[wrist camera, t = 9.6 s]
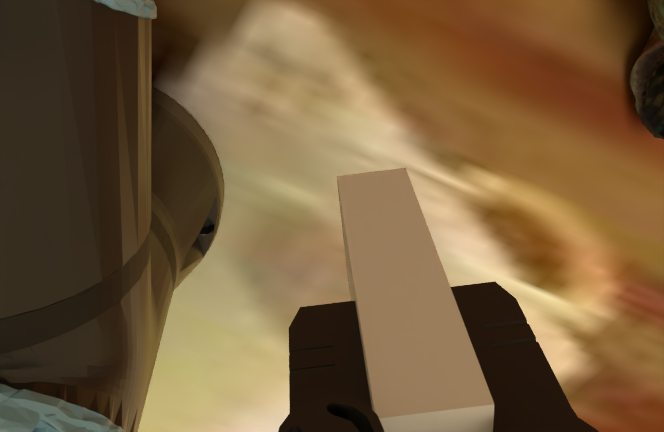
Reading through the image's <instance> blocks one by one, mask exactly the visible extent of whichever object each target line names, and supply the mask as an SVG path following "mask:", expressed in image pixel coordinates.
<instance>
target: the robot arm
mask: <svg viewBox="0 0 664 432" xmlns="http://www.w3.org/2000/svg"><path fill="white" fill-rule="evenodd" d="M155 18H157V7H156V5H155V1H154V0H0V432H138V428H139V424H140V420H141V416H142V412H143V408H144V404H145V400H146V396H147V392H148V388H149V384H150V380H151V376H152V373H153V369H154V365H155V361H156V357H157V353H158V349H159V345H160V341H161V337H162V333H163V329H164V325H165V321H166V317H167V313H168V309H169V305H170V302H171V298H172V294H173V291H174V290H175V289H176V288H177V286H178V285H179V284H180V283H181V282H182V281H183V280H184V279H185V278H186V277H187V276H188V274H189V273H190V272H191V271H192V270H193V269H194V268H195V267H196V266H197V265H198V264H199V262H200V261H201V260H202V259H203V257H204V256H205V255H206V253H207V251H208V250H209V248H210V246H211V244H212V242H213V240H214V238H215V236H216V233H217V230H218V227H219V222H220V217H221V212H222V207H223V200H224V181H223V174H222V170H221V166H220V163H219V159H218V157H217V154H216V152H215V150H214V148H213V146H212V144H211V142H210V140H209V138H208V137H207V135H206V134H205V132H204V131H203V129H202V128H201V127H200V126H199V124H198V123H197V122H196V121H195V120H194V119H193V117H192V116H191V115H190V114H189V113H188V112H187V111H186V110H184V109H183V108H182V107H181V106H180V105H179V104H177V103H176V102H175V101H174V100H172V99H171V98H169V97H168V96H166V95H165V94H163V93H162V92H160V91H158V90H156V89H155V88H153V87H151V52H152V19H155ZM337 182H338V192H339V201H340V210H341V219H342V228H343V237H344V247H345V256H346V265H347V274H348V281H349V288H350V295H351V301H348V302H340V303H332V304H324V305H315V306H307V307H300V309H299V310H298V312H297V314H296V316H295V318H294V320H293V322H292V323H291V325H290V327H289V353H290V355H289V370H290V374H289V378H290V414H289V415H288V417H287V418H286V419H285V421H284V422H283V423H282V425H281V426H280V428H279V432H598V430H596V429H595V428H593V427H592V426H590V425H589V424H587V423H586V422H584V421H583V420H581V419H580V418H578V417H577V415H576V414H575V412H574V411H573V409H572V408H571V406H570V404H569V402H568V400H567V398H566V396H565V394H564V392H563V390H562V388H561V386H560V384H559V382H558V380H557V378H556V377H555V375H554V373H553V371H552V369H551V367H550V365H549V363H548V361H547V359H546V357H545V355H544V353H543V351H542V349H541V347H540V345H539V343H538V342H536V337H535V335H534V333H533V331H532V330H531V328H530V326H529V324H527V320H526V318H525V316H524V314H523V312H522V310H521V308H520V306H519V304H518V302H517V300H516V298H514V297H513V296H512V295H511V294H509V293H508V292H507V291H506V290H505V289H503V288H502V287H501V286H500V285H498V284H497V283H496V282H488V283H480V284H472V285H464V286H456V287H450V285H449V282H448V280H447V277H446V274H445V272H444V269H443V266H442V264H441V261H440V258H439V256H438V253H437V250H436V248H435V245H434V242H433V240H432V237H431V234H430V232H429V229H428V226H427V224H426V221H425V218H424V216H423V213H422V210H421V208H420V205H419V203H418V200H417V197H416V195H415V192H414V189H413V187H412V184H411V181H410V179H409V176H408V173H407V171H406V168H401V169H393V170H385V171H377V172H368V173H360V174H352V175H344V176H337Z"/></svg>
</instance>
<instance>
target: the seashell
mask: <svg viewBox="0 0 664 432" xmlns="http://www.w3.org/2000/svg"><path fill="white" fill-rule="evenodd" d="M647 5H648V10H649V13H650V16H651V18H652V21H653V23H654V29H653V31H652V33H651V35H650V38H649V40H648V42H647V44H646V46H645V48H644V50H643V51H642V53H641V55H640V57H639V58H638V59H637V61H636V63H635V65H634V66H633V68H632V70H631V73H630V83H629V84H630V86H631V89H632V91H633V94H634V96H635V98H636V104H635V106H636V109H637V113H638V115H639V116H640V117H641V121H642V123H643V124H644V125H645V126H646V128H647V129H648V130H649V132H651V133H652V134H653V136H654V137H656V138H662V139H664V0H647Z"/></svg>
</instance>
